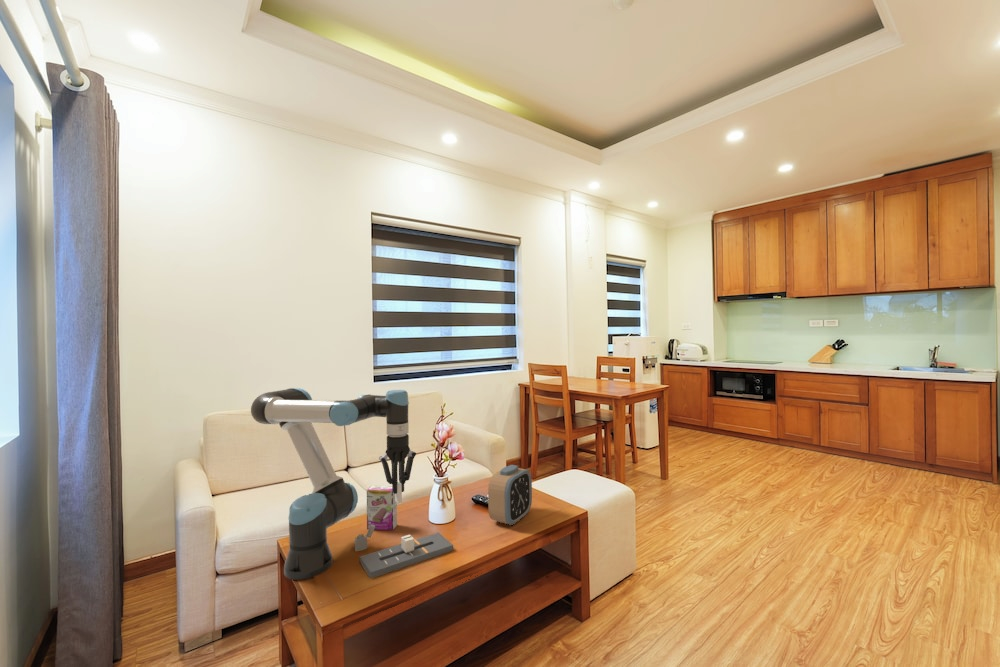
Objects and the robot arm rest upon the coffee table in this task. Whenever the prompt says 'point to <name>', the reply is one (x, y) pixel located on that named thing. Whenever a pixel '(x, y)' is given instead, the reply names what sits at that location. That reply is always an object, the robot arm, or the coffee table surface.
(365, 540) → the lighter
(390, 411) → the robot arm
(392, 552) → the console
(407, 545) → the fader knob
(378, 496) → the candy bar box
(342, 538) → the coffee table surface
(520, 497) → the alarm clock
